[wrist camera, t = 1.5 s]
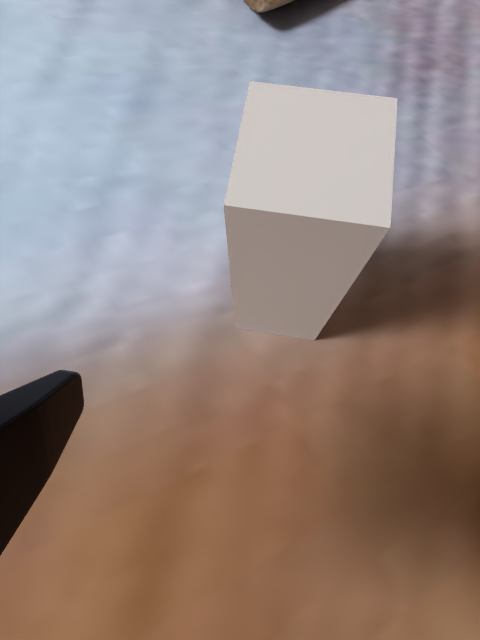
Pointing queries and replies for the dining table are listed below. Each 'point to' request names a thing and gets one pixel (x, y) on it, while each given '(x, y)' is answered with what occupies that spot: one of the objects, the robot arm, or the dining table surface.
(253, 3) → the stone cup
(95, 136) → the dining table surface
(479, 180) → the dining table surface
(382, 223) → the pillar
